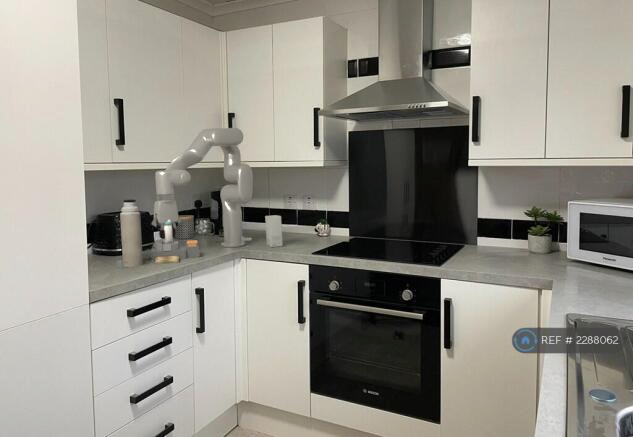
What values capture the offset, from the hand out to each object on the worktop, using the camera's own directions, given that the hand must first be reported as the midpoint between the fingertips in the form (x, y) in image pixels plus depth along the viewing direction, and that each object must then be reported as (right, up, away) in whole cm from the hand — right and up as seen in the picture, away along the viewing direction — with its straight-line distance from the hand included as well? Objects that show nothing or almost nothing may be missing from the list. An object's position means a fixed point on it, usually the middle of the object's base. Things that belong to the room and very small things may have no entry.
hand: (167, 237), depth 231 cm
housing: (+4, -9, +2) cm, 10 cm away
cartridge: (0, -4, +1) cm, 4 cm away
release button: (+11, -8, +3) cm, 14 cm away
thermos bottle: (-10, -11, -15) cm, 21 cm away
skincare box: (+46, -6, +30) cm, 55 cm away
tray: (+2, -10, -8) cm, 13 cm away
